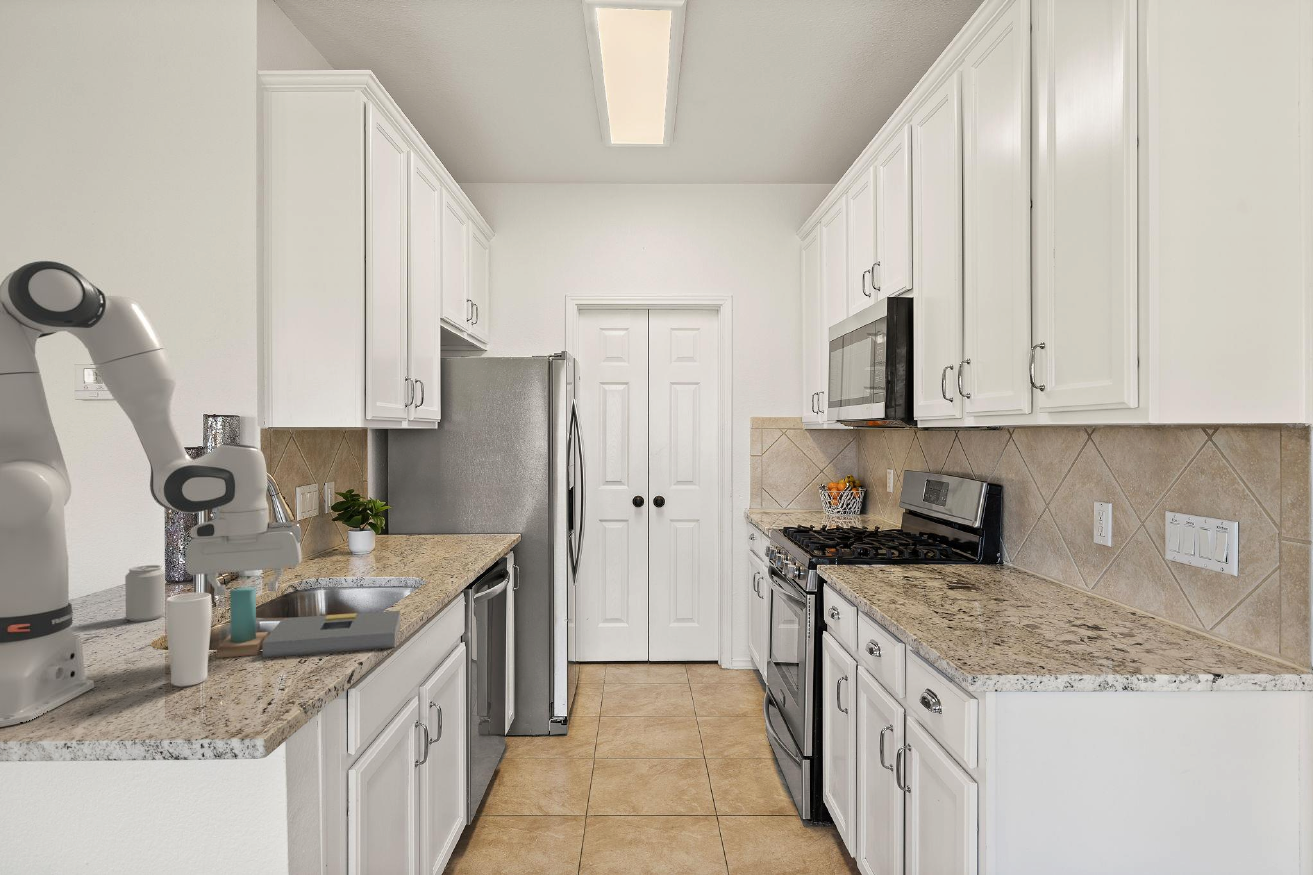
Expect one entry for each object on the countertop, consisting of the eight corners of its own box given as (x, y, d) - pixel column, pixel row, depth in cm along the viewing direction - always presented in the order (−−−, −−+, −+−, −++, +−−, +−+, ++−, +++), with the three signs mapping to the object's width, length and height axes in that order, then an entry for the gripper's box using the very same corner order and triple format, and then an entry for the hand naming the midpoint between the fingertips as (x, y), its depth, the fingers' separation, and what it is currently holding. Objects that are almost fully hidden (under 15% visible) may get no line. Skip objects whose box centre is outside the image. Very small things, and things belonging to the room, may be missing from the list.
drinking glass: (159, 691, 120) (158, 602, 120) (174, 677, 127) (173, 593, 126) (205, 687, 122) (204, 599, 122) (217, 673, 129) (217, 591, 128)
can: (144, 623, 161) (144, 570, 161) (117, 621, 163) (116, 569, 162) (173, 614, 168) (172, 564, 168) (146, 613, 170) (146, 563, 170)
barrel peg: (252, 641, 141) (252, 591, 141) (227, 643, 140) (227, 592, 140) (258, 635, 145) (258, 586, 145) (234, 637, 144) (233, 587, 144)
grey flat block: (394, 647, 144) (394, 631, 144) (262, 657, 137) (262, 640, 137) (400, 623, 161) (400, 609, 161) (283, 632, 155) (283, 616, 155)
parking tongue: (257, 654, 139) (257, 644, 139) (216, 657, 137) (216, 647, 137) (268, 641, 148) (268, 631, 148) (230, 644, 146) (230, 634, 146)
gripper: (304, 518, 149) (306, 584, 149) (192, 525, 143) (194, 593, 143) (298, 523, 143) (300, 591, 143) (180, 529, 137) (183, 601, 137)
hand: (246, 592), depth 143 cm, fingers open, 8 cm apart
